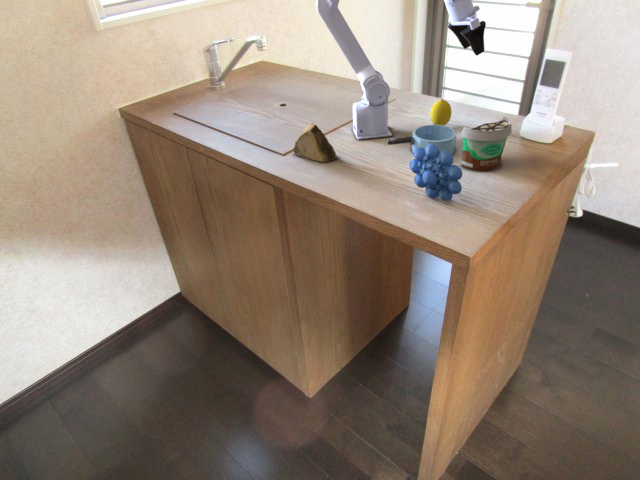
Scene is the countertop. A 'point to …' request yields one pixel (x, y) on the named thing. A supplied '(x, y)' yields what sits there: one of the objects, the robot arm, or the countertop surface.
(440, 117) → the lemon
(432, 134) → the pan
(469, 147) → the food container
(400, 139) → the pan handle
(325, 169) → the countertop surface
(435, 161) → the grapes
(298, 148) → the rock
